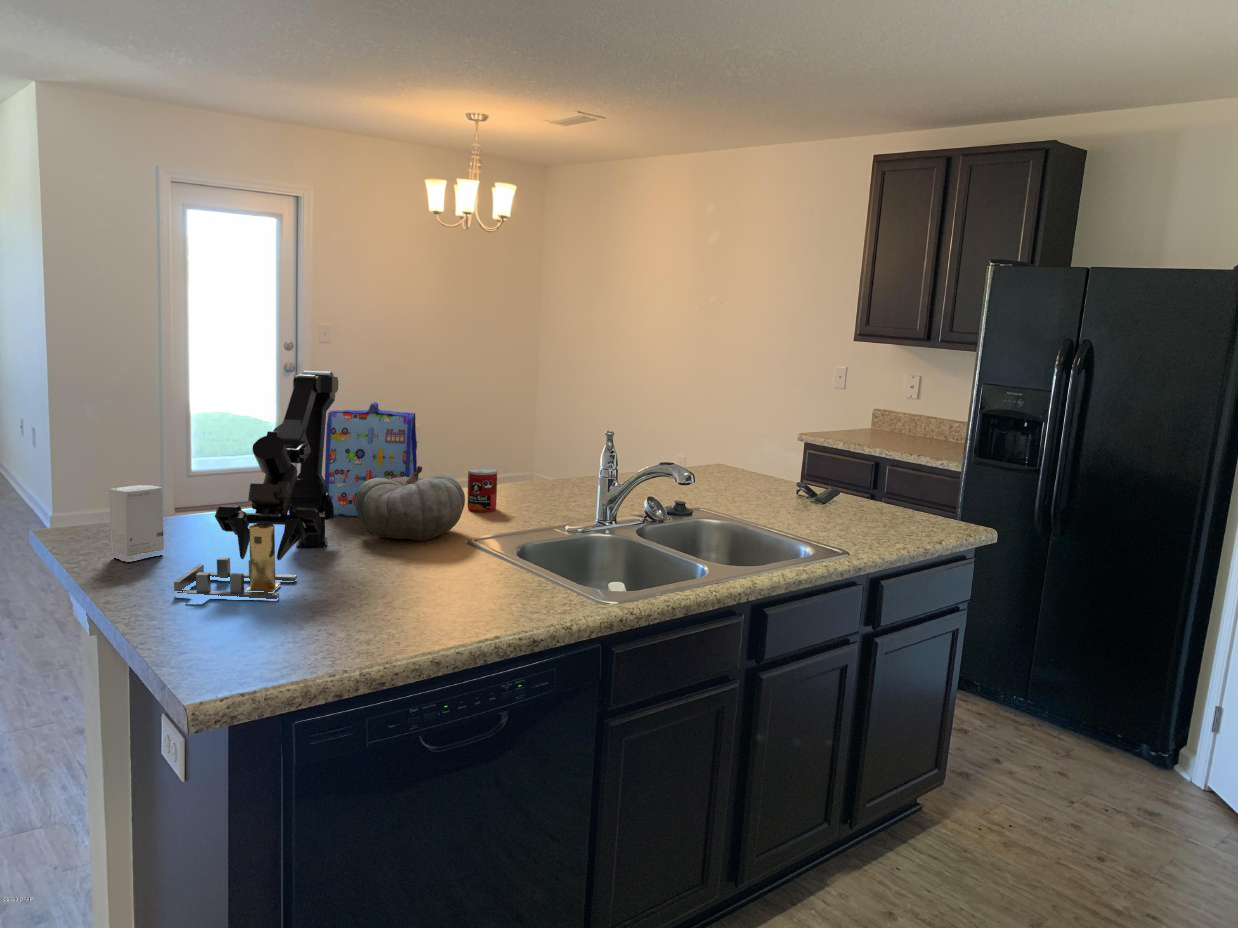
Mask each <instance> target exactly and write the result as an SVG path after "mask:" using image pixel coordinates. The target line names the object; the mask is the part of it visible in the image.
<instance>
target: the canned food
mask: <svg viewBox="0 0 1238 928" xmlns="http://www.w3.org/2000/svg"><path fill="white" fill-rule="evenodd" d="M497 488H498V470H497V469H496V468H493V467H484V466H483V467H482V466H479V467H478V466H477V467H473V468H468V471H467V509H468V511H470V512H472V513H492V512H494V511H495V510H496V509H497V500H498V499H497V495H498V494H497V493H498V489H497Z"/></svg>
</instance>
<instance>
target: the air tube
mask: <svg viewBox="0 0 1238 928" xmlns="http://www.w3.org/2000/svg"><path fill="white" fill-rule="evenodd" d="M248 528H249V560H250V585H249V586H248V587H247V588H246V589H245V590H247V591H264V592H273V591H274V590H275V589H276V588H277V587H278V586H279V585H280V584H281V585H282V583H276V582H275V574H276V540H275V539H276V538H275V537H276V536H275V524H265V523H263V524H250V525H249V526H248Z"/></svg>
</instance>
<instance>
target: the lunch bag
mask: <svg viewBox="0 0 1238 928" xmlns="http://www.w3.org/2000/svg"><path fill="white" fill-rule="evenodd" d="M327 413H328V414H327V418H326V430H325V434H326V435H325V459H324V460H325V461H324V480H325V482H326V484H327V486H328V493H329V495H330V497H331V500H332V503H333V506H334V516H345V517H359V516H358V514H357V511H356V507H355V500H356V495H357V492H358V489H359V488H360V486H361V485H362V484H363V483H364V482H366V481H368V480H370V479H374V478H386V479H392V478H398V477H410V476H411V475H412V474H414V472H415V471H417V467H418V466H417V464H418V461H417V459H418V458H417V450H418V442H417V431H416V430H417V428H416V412H408V411H407V412H404V411H403V412H402V411H393V410H384V409H383V410H382V409H380V408H379V403H378V402H377V401H374V402H372V403H371V404H370V405H369V408H368V409H366V410H364V409H363V410H359V409H358V410H356V409H355V410H349V409H345V410H344V409H343V410H329V411H328V412H327Z"/></svg>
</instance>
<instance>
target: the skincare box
mask: <svg viewBox="0 0 1238 928" xmlns="http://www.w3.org/2000/svg"><path fill="white" fill-rule="evenodd" d="M108 495H109V497H108V498H109V514H110V515H109V518H110V519H109V520H110V521H109V522H110V545H111V552H112V551H113V552H116V553H119V554H121V555H124V556H132V555H137V554H141V553H148V552H153V551H161V550H164V551H165V548H164V547H165V546H164V545H165V543H164V540H165V539H164V519H163V518H164V514H163V512H164V510H163V507H164V506H163V487H162V486H157V485H151V484H139V485H129V486H120V487H114V488H109V489H108Z"/></svg>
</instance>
